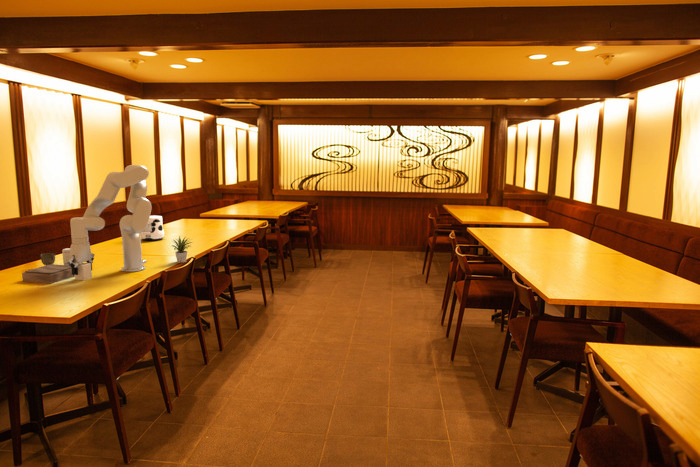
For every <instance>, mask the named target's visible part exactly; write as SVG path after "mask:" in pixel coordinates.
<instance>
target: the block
mask: <svg viewBox="0 0 700 467" xmlns="http://www.w3.org/2000/svg"><path fill="white" fill-rule="evenodd" d="M77 267H78V275H75V276H74V280H75V281H86V280H90V279H93V275H92V274H93V273H92V271H91V263H87V262H82V263H79V264H78V265H77Z"/></svg>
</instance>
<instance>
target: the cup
mask: <svg viewBox="0 0 700 467" xmlns="http://www.w3.org/2000/svg"><path fill="white" fill-rule="evenodd" d="M39 255H40V256H39V257H40V260H41V263H42V265H43V266H46V265H50V264H55V261H56V252H47V253H41V254H39Z"/></svg>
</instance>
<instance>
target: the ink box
mask: <svg viewBox="0 0 700 467" xmlns="http://www.w3.org/2000/svg"><path fill="white" fill-rule="evenodd" d="M61 252H62V261H63V265H69V264H68V262H67V260H68V259H69V258H70V248H68V247H67V248H63V249H62V250H61ZM78 264H79V263H78ZM74 265H75V264H74ZM69 266H70V265H69Z"/></svg>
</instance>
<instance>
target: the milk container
mask: <svg viewBox="0 0 700 467" xmlns="http://www.w3.org/2000/svg"><path fill="white" fill-rule="evenodd" d="M163 223H164V221H163V216H162V215H150V218H149V222H148V225H147V228H146V229H145V231H144V232H142V233H139V234H140V238H141V240H143V241H144V240H145V241H158V240H159V241H160V240H162V239H164V238H165V230H164V226H163V225H164V224H163Z"/></svg>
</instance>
